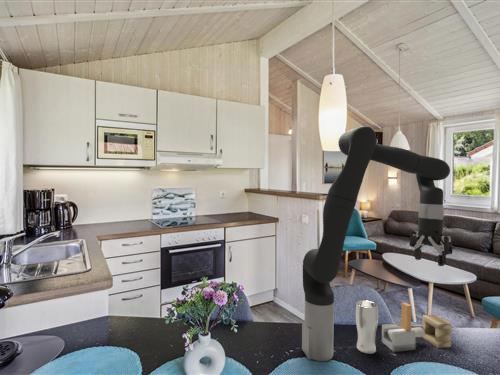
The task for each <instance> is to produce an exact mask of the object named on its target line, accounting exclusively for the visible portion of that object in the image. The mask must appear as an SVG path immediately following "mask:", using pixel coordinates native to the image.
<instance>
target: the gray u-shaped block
mask: <svg viewBox="0 0 500 375" xmlns="http://www.w3.org/2000/svg"><path fill="white" fill-rule="evenodd" d="M392 329H403V328H402V327H401V322H397V323H385V324H381V342H382V343H383V344H384V345H385V346H386V347H387V348H389V350H391V351H392V352H394V353H395V352H405V351H415V350H416V338H417V337H416V332H415V331H402V332H392V340H391V339H390V338H389V336H388V330H392Z"/></svg>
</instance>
